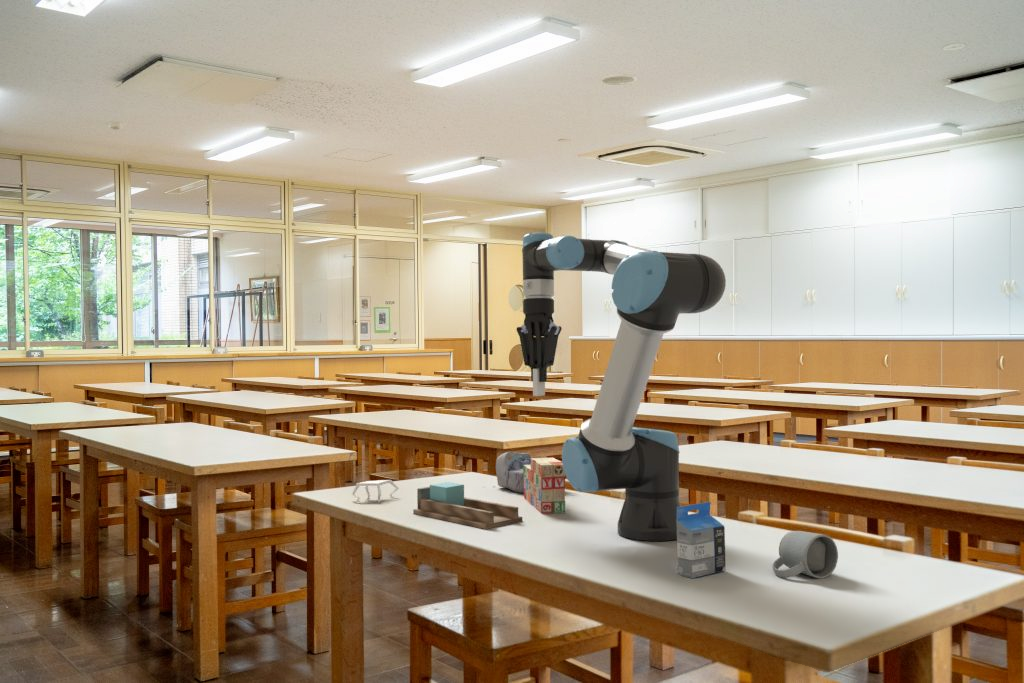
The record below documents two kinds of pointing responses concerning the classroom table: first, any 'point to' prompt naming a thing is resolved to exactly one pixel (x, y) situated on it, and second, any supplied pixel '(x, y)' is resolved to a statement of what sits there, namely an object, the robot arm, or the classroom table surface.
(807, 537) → the ceramic mug
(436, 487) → the block
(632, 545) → the classroom table surface
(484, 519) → the chute
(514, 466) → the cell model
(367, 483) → the white bent leg stand
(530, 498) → the stack of blocks
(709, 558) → the label tape box
